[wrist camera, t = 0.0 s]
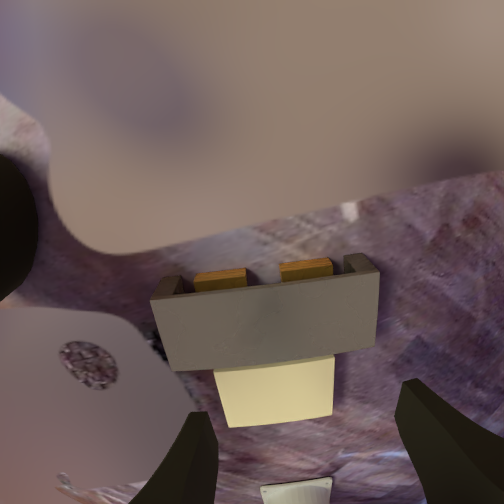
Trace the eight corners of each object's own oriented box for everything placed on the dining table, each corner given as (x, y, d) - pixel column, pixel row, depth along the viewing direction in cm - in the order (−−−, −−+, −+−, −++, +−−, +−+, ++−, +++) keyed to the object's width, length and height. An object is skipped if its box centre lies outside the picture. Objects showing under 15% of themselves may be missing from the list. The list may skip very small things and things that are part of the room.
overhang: (360, 321, 21) (374, 346, 18) (180, 343, 21) (171, 371, 18) (361, 252, 19) (379, 272, 16) (162, 277, 19) (149, 300, 16)
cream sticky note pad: (328, 400, 23) (332, 414, 22) (229, 412, 23) (228, 427, 22) (329, 344, 21) (334, 357, 20) (215, 357, 21) (213, 372, 20)
